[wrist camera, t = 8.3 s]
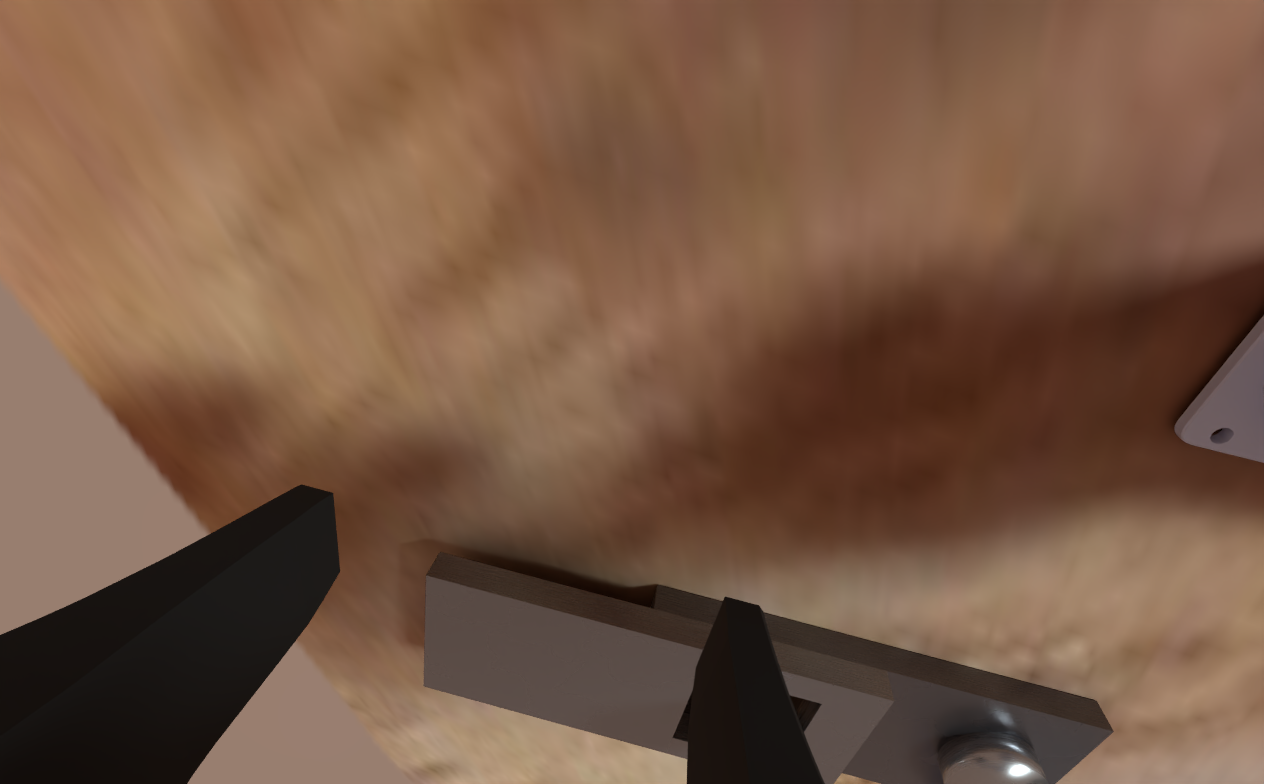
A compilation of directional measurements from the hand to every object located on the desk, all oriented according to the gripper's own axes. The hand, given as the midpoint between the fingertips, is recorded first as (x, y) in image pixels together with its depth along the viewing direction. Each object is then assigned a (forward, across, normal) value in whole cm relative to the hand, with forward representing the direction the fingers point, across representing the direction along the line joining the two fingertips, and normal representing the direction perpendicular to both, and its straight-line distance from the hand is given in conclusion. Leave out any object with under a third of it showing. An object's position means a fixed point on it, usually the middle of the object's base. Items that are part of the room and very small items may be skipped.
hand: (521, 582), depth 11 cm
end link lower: (+9, -12, +13) cm, 20 cm away
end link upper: (+9, -4, +13) cm, 16 cm away
